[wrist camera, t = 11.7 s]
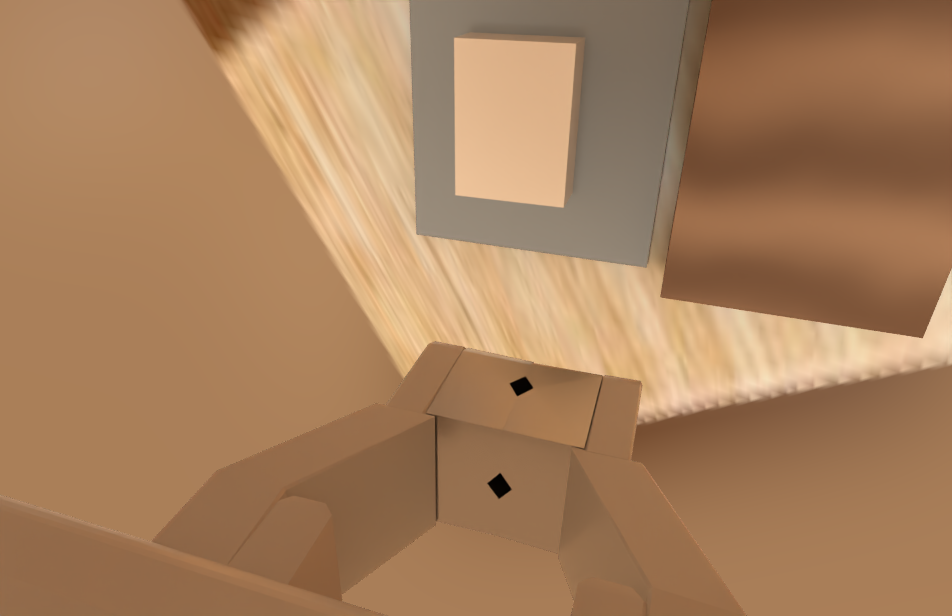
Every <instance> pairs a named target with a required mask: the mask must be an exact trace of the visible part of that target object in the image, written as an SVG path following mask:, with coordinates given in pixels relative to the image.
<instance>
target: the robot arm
mask: <svg viewBox="0 0 952 616" xmlns="http://www.w3.org/2000/svg"><path fill="white" fill-rule="evenodd" d="M641 391H642V383H641V381H638V380H632V379H625V378H619V377H613V376H607V375H605V376H604V377H603V376H602V375H597V374H591V373H586V372H580V371H575V370H569V369H564V368H558V367H553V366H547V365H542V364H536V363H534V362H531V361H526V360H522V359H517V358H512V357H508V356H503V355H499V354H494V353H489V352H485V351H480V350H476V349H471V348H467V349H466V348H465V347H462V346H457V345H451V344H446V343H441V342H436V341H435V342H432V343H430V344H428V345H427V347H426V348H425V350H424V351H423V352H422V354H421V355H420V357H419V358H418V360H417V361H416V362H415V364H414V365H413V367H412V368H411V370H410V371H409V372H408V374H407V375H406V377H405V378H404V380H403V381H402V383H401V384H400V385H399V387H398V388H397V390H396V391H395V393H394V394H393V396H392V397H391V398H390V400H389V401H388V403H387V404H386V405H383V404H378V403H375V404H373V405H370V406H368V407H366V408H364V409H361V410H359V411H357V412H354V413H352V414H349V415H347V416H345V417H342V418H340V419H337V420H335V421H333V422H330V423H328V424H326V425H323V426H321V427H319V428H316V429H314V430H312V431H309V432H307V433H305V434H302V435H300V436H297V437H295V438H293V439H290V440H288V441H285V442H283V443H281V444H278V445H276V446H274V447H271V448H269V449H267V450H264V451H262V452H260V453H257V454H255V455H252V456H250V457H248V458H246V459H243V460H241V461H239V462H236V463H234V464H231V465H229V466H226V467H224V468H222V469H219V470H217V471H216V472H215V473H214V474H213V475H212V476H211V477H210V478H209V479H208V481H207V482H206V483H205V484H204V485H203V486H202V487H201V488H200V489H199V490H198V491H197V493H195V495H194V496H193V497H192V498H191V499H190V500H189V501H188V502H187V503H186V504H185V505H184V506H183V507H182V509H181V510H180V511H179V512H178V513H177V514H176V515H175V516H174V517H173V518H172V519H171V521H169V523H168V524H167V525H166V526H165V527H164V528H163V529H162V530H161V531H160V532H159V533H158V534H157V536H156V537H155V538H154V539H153V540H152V541H151V542H150V541H147V540H144V539H141V538H137V537H134V536H131V535H128V534H124V533H121V532H118V531H115V530H112V529H109V528H105V527H102V526H99V525H95V524H93V523H89V522H86V521H83V520H80V519H77V518H73V517H70V516H67V515H64V514H61V513H57V512H54V511H51V510H48V509H45V508H41V507H38V506H35V505H31V504H29V503H25V502H22V501H19V500H16V499H13V498H9V497H6V496H3V495H0V616H387V615H384V614H381V613H377V612H374V611H371V610H368V609H365V608H361V607H358V606H355V605H352V604H349V603H345V602H342V594H343V593H345V592H346V591H347V590H349V589H350V588H351V587H353V586H354V585H356V584H357V583H358V582H360V581H361V580H362V579H364V578H365V577H366V576H368V575H369V574H370V573H372V572H373V571H374V570H376V569H377V568H378V567H380V566H381V565H382V564H384V563H385V562H386V561H388V560H389V559H391V558H392V557H393V556H395V555H396V554H397V553H399V552H400V551H401V550H403V549H404V548H405V547H407V546H408V545H409V544H411V543H412V542H414V541H415V540H416V539H418V538H419V537H420V536H422V535H423V534H424V533H426V532H427V531H428V530H430V529H431V528H432V527H434V526H435V525H436V521H437V522H441V523H445V524H450V525H454V526H458V527H462V528H467V529H471V530H475V531H479V532H484V533H488V534H492V535H496V536H499V537H503V538H506V539H509V540H513V541H516V542H520V543H523V544H526V545H530V546H533V547H537V548H540V549H543V550H546V551H550V552H553V553H557V554H558V559H559V561H560V564H561V567H562V570H563V572H564V575H565V578H566V581H567V584H568V586H569V589H570V592H571V594H572V597H573V600H574V604H573V608H572V612H571V616H747V615H746V614H745V612H744V611H743V609H742V608H741V606H740V605H739V604H738V602H737V601H736V599H735V598H734V596H733V595H732V593H731V592H730V590H729V589H728V587H727V586H726V584H725V583H724V582H723V580H722V579H721V577H720V576H719V574H718V573H717V571H716V570H715V568H714V567H713V566H712V564H711V563H710V561H709V560H708V558H707V557H706V555H705V554H704V552H703V551H702V550H701V548H700V547H699V545H698V544H697V543H696V541H695V540H694V538H693V537H692V535H691V534H690V532H689V531H688V529H687V528H686V526H685V525H684V523H683V522H682V520H681V519H680V518H679V516H678V515H677V513H676V512H675V510H674V509H673V507H672V506H671V504H670V503H669V502H668V500H667V499H666V497H665V496H664V494H663V493H662V491H661V490H660V489H659V487H658V485H657V484H656V483H655V481H654V480H653V478H652V477H651V475H650V474H649V472H648V471H647V469H646V468H645V467H644V465H643V464H642V463H639V462H635V461H631V456H632V450H633V443H634V436H635V430H636V424H637V417H638V410H639V404H640V397H641Z"/></svg>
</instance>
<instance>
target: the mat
mask: <svg viewBox="0 0 952 616" xmlns="http://www.w3.org/2000/svg"><path fill="white" fill-rule="evenodd" d="M689 1H690V0H410V30H411V64H412V98H413V131H414V165H415V199H416V233H417V235H424V236H431V237H438V238H445V239H452V240H459V241H466V242H473V243H480V244H487V245H493V246H500V247H507V248H514V249H521V250H528V251H535V252H542V253H549V254H556V255H563V256H569V257H576V258H583V259H590V260H597V261H604V262H611V263H618V264H625V265H632V266H639V267H645V268H647V263H648V257H649V251H650V245H651V238H652V232H653V226H654V220H655V213H656V207H657V201H658V195H659V188H660V182H661V176H662V170H663V163H664V157H665V151H666V145H667V138H668V132H669V126H670V120H671V113H672V107H673V101H674V95H675V88H676V82H677V76H678V70H679V63H680V57H681V51H682V45H683V38H684V32H685V26H686V20H687V13H688V7H689ZM470 32H473V33H496V34H518V35H540V36H562V37H584V38H585V47H584V60H583V72H582V84H581V96H580V108H579V120H578V132H577V144H576V156H575V168H574V180H573V192H572V195H571V196H570V198H569V200H568V201H567V203H566V205H565V206H564V208H561V207H553V206H544V205H535V204H527V203H518V202H509V201H501V200H492V199H484V198H475V197H466V196H458V195H455V94H454V38H455V37H458V36H461V35H464V34H467V33H470Z"/></svg>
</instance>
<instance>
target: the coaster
mask: <svg viewBox="0 0 952 616" xmlns="http://www.w3.org/2000/svg"><path fill="white" fill-rule="evenodd" d="M584 47H585V38H584V37H562V36H540V35H518V34H496V33H473V32H470V33H467V34H464V35H461V36H458V37H455V38H454V94H455V195H458V196H466V197H475V198H484V199H492V200H501V201H509V202H518V203H527V204H535V205H544V206H553V207H561V208H564V206H565V205H566V203H567V201H568V200H569V198H570V196H571V195H572V192H573V180H574V168H575V156H576V144H577V132H578V120H579V108H580V96H581V84H582V72H583V60H584Z"/></svg>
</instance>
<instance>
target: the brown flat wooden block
mask: <svg viewBox="0 0 952 616" xmlns="http://www.w3.org/2000/svg"><path fill="white" fill-rule="evenodd" d="M951 268H952V0H712V3H711V9H710V15H709V20H708V26H707V32H706V37H705V43H704V49H703V54H702V60H701V66H700V72H699V77H698V83H697V89H696V94H695V100H694V106H693V112H692V117H691V123H690V129H689V134H688V140H687V146H686V151H685V157H684V163H683V169H682V174H681V180H680V186H679V191H678V197H677V203H676V208H675V214H674V220H673V226H672V231H671V237H670V243H669V248H668V254H667V260H666V266H665V272H664V278H663V284H662V291H661V297H662V298H668V299H675V300H681V301H687V302H694V303H700V304H707V305H713V306H720V307H726V308H733V309H739V310H745V311H752V312H758V313H765V314H771V315H778V316H784V317H790V318H797V319H803V320H810V321H816V322H823V323H829V324H835V325H842V326H848V327H855V328H861V329H868V330H874V331H880V332H887V333H893V334H900V335H906V336H913V337H919V338H923V336H924V334H925V331H926V329H927V326H928V324H929V322H930V319H931V317H932V314H933V312H934V309H935V307H936V305H937V302H938V300H939V297H940V295H941V292H942V290H943V288H944V285H945V283H946V280H947V278H948V275H949V273H950V271H951Z"/></svg>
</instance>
